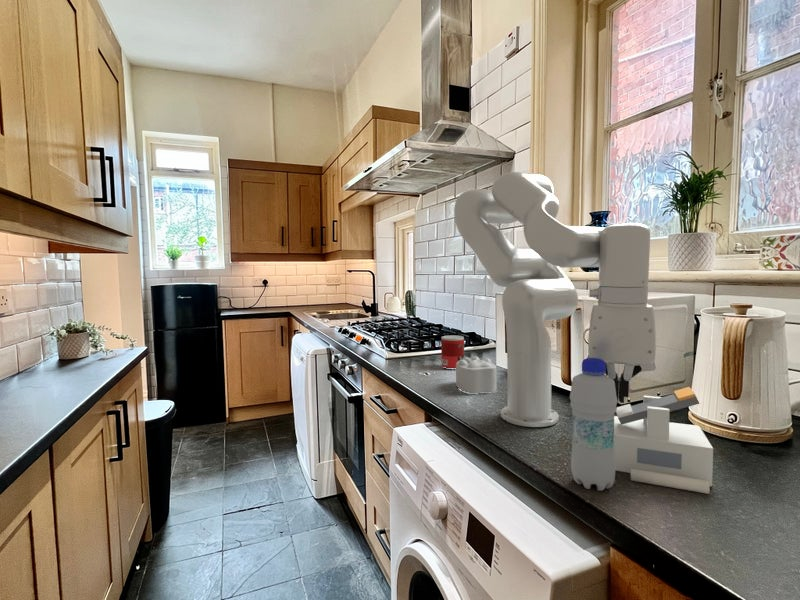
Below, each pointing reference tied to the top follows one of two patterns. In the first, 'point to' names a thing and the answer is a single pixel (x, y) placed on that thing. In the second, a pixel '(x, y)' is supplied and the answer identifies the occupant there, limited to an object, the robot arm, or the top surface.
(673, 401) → the lever
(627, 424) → the box
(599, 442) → the bottle
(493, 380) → the lumpy-topped squat cylinder
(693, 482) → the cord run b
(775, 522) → the top surface
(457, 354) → the canned food
